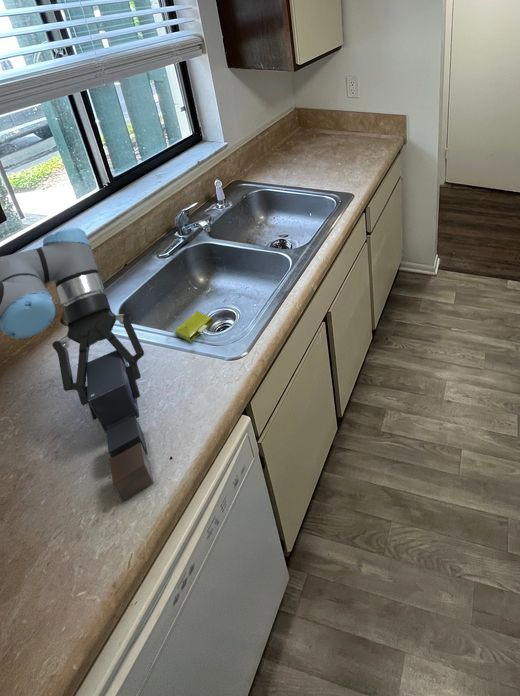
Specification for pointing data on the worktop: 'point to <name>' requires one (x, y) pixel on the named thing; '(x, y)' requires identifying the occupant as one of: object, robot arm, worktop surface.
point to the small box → (110, 390)
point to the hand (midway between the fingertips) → (117, 407)
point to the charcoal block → (125, 437)
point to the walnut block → (131, 472)
